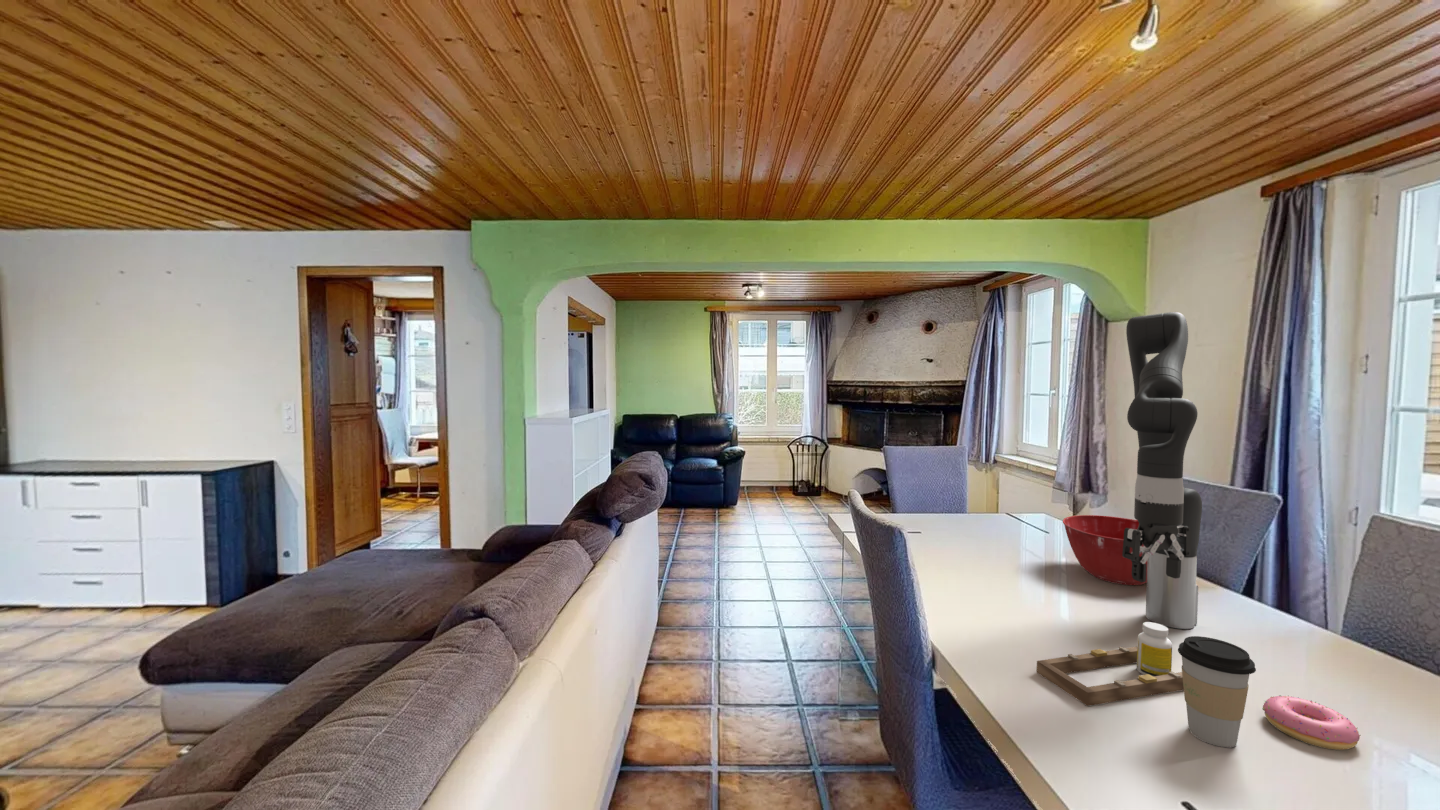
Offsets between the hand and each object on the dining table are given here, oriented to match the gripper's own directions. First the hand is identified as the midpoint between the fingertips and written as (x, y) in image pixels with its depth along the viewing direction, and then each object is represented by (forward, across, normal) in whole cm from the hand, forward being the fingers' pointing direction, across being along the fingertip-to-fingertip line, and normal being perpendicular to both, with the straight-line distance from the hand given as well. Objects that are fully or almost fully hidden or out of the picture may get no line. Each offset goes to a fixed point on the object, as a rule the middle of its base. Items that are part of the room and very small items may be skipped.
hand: (1156, 579), depth 107 cm
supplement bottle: (+20, 0, 0) cm, 20 cm away
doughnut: (+20, -7, +20) cm, 29 cm away
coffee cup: (+20, +10, +17) cm, 28 cm away
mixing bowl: (+19, -44, -45) cm, 66 cm away
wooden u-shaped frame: (+19, +8, 0) cm, 21 cm away
